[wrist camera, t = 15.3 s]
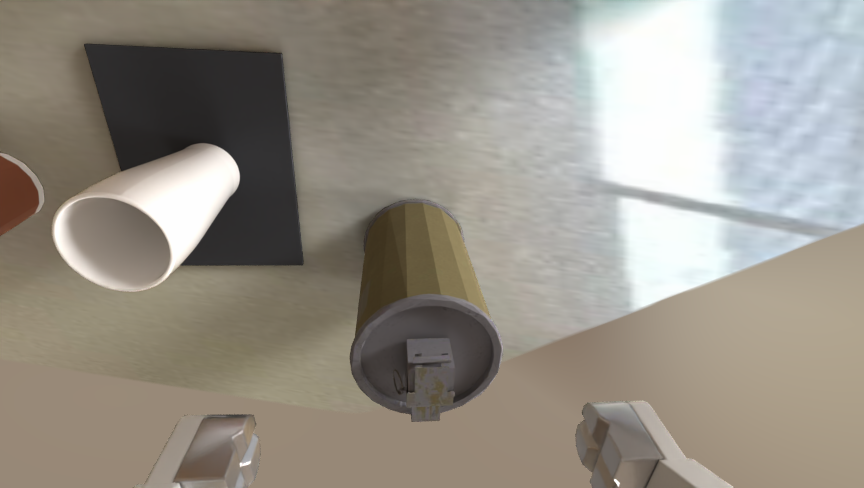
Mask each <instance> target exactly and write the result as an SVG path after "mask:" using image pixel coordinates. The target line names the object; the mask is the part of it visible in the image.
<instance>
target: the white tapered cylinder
mask: <svg viewBox="0 0 864 488" xmlns="http://www.w3.org/2000/svg"><path fill="white" fill-rule="evenodd" d="M239 182H240V173H239V168H238V166H237V164H236V162H235V160H234V159H233V158H232V157H231V155H230V154H229V153H227V152H226V151H225V150H223V149H222V148H220V147H218V146H215V145H212V144H207V143H198V144H193V145H190V146H188V147H186V148H184V149H182V150H180V151H178V152H175V153H172V154H169V155H167V156H164V157H161V158H158V159H155V160H152V161H150V162H147V163H144V164H141V165H138V166H135V167H132V168H129V169H127V170H124V171H121V172H119V173H116V174H114V175H112V176H109V177H107V178H105V179H103V180H101V181H99V182H97V183H95V184H94V185H92V186H90V187H88V188H86V189H85V190H83V191H81V192H80V193H78V194H77V195H75V196H73V197H72V198H70V199H68V200H67V201H66V202H64V203H63V204H62V205H61V206H60V207H59V209H58V210H57V212H56V213H55V215H54V218H53V222H52V237H53V241H54V244H55V246H56V249H57V250H58V252H59V254H60V255H61V257H62V258H63V260H64V261H65V262H66V263H67V264H68V265H69V266H70V267H71V268H72V269H73V270H74V271H75V272H76V273H78V274H79V275H81V276H82V277H83V278H85V279H87V280H88V281H90V282H92V283H94V284H97V285H99V286H102V287H105V288H108V289H112V290H117V291H127V292H133V291H141V290H146V289H149V288H152V287H154V286H156V285H158V284H160V283H161V282H163V281H164V280H165V279H166V278H167V277H168V276H169V275H170V274H171V273H172V272H173V271H175V270H176V269H177V268H178V267H179V266H180V265H181V264H182V263H183V261H184V260H185V259H186V258H187V257H188V256H189V255H190V254H191V253H192V251H193V250H194V249H195V248H196V246H197V245H198V244H199V242H200V241H201V239H202V238H203V236H204V235H205V233H206V232H207V230H208V229H209V227H210V226H211V224H212V223H213V221H214V220H215V218H216V217H217V215H218V214H219V212H220V211H221V209H222V208H223V206H224V205H225V203H226V202H227V200H228V199H229V198H230V197H231V196H232V195H233V194H234V193H235V191H236V190H237V188H238V185H239Z"/></svg>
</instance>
